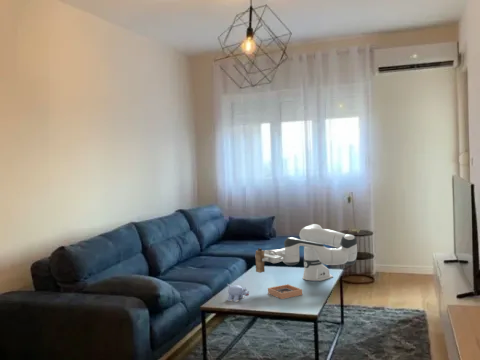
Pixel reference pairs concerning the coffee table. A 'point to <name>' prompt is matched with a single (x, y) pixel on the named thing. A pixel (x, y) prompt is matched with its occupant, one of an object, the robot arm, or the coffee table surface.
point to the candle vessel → (285, 291)
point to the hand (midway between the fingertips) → (259, 259)
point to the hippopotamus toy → (236, 293)
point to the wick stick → (259, 260)
